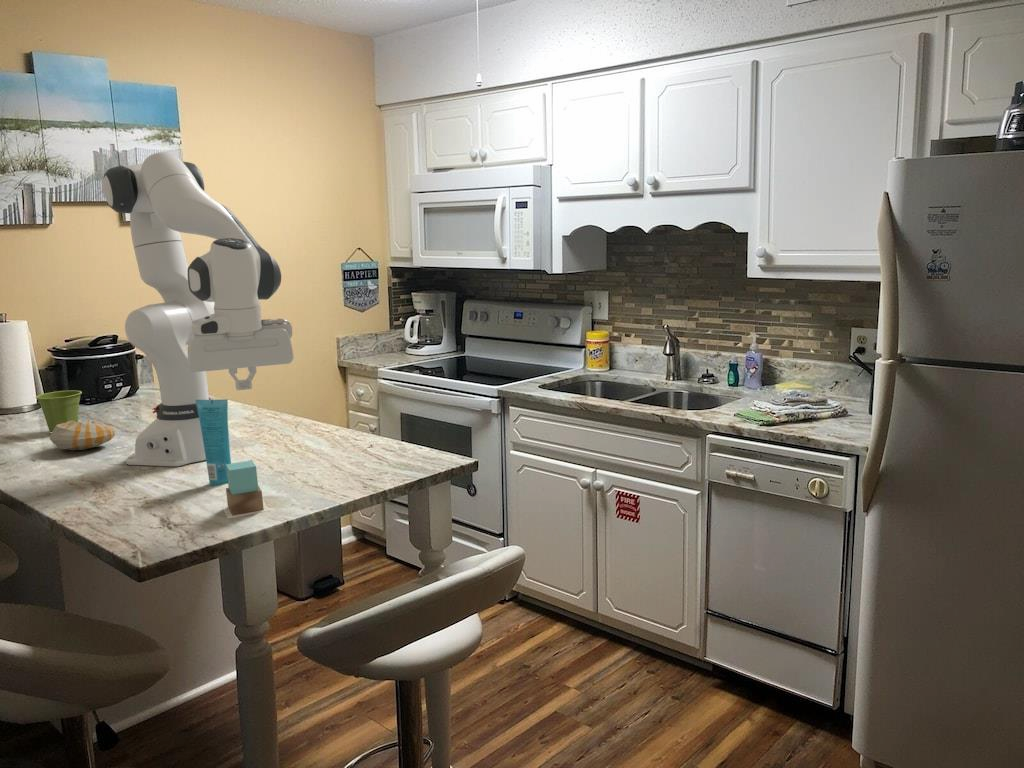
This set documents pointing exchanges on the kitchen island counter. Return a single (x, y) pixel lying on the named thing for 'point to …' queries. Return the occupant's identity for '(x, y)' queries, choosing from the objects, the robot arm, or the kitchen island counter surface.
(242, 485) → the teal cube
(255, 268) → the robot arm
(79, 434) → the nautilus
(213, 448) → the tube
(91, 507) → the kitchen island counter surface
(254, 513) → the slate mat
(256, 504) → the walnut block
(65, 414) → the plant pot
